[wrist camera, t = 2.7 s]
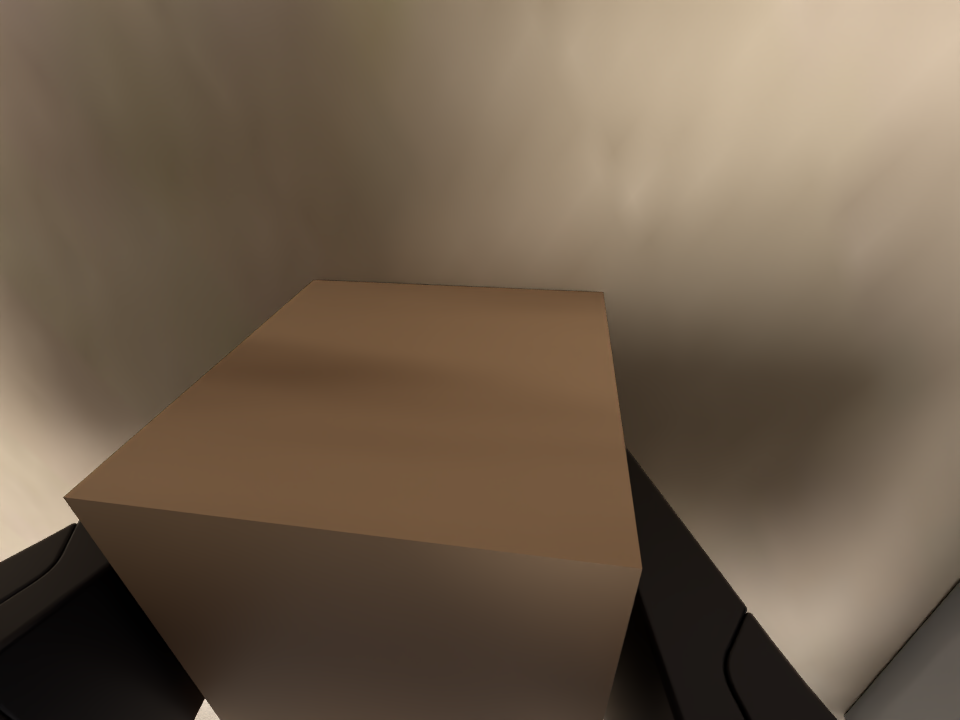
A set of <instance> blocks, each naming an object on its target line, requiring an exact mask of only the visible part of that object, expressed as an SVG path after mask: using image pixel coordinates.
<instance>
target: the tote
mask: <svg viewBox="0 0 960 720" xmlns="http://www.w3.org/2000/svg"><path fill="white" fill-rule="evenodd" d="M844 717H845V719H846V720H960V582H959V583H958V584H957V585H956V586H955V588H954V589H953V590H952V591H951V592H950V593H949V595H948V596H947V597H946V598H945V599H944V600H943V602H942V603H941V604H940V605H939V606H938V607H937V609H936V610H935V611H934V612H933V613H932V614H931V616H930V617H929V618H928V619H927V620H926V621H925V623H924V624H923V625H922V626H921V627H920V628H919V630H918V631H917V632H916V633H915V634H914V635H913V636H912V638H911V639H910V640H909V641H908V642H907V643H906V645H905V646H904V647H903V648H902V649H901V650H900V652H899V653H898V654H897V655H896V656H895V657H894V659H893V660H892V661H891V662H890V663H889V664H888V666H887V667H886V668H885V669H884V670H883V671H882V673H881V674H880V675H879V676H878V677H877V678H876V680H875V681H874V682H873V683H872V684H871V685H870V687H869V688H868V689H867V690H866V691H865V692H864V694H863V695H862V696H861V697H860V698H859V699H858V701H857V702H856V703H855V704H854V705H853V706H852V708H851V709H850V710H849V711H848V712H847V713H846V715H845V716H844Z"/></svg>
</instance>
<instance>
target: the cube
mask: <svg viewBox="0 0 960 720" xmlns="http://www.w3.org/2000/svg"><path fill="white" fill-rule="evenodd" d="M63 498H64V499H65V500H66V502H67V503H68V505H69V506H70V507H71V509H72V510H73V512H74V513H75V515H76V516H77V517H78V519H79V520H80V522H81V523H82V524H83V526H84V527H85V529H86V530H87V532H88V533H89V534H90V536H91V537H92V539H93V540H94V541H95V543H96V544H97V546H98V547H99V549H100V550H101V551H102V553H103V554H104V556H105V557H106V558H107V560H108V561H109V563H110V564H111V566H112V567H113V568H114V570H115V571H116V573H117V574H118V575H119V577H120V578H121V580H122V581H123V583H124V584H125V585H126V587H127V588H128V590H129V591H130V593H131V594H132V595H133V597H134V598H135V600H136V601H137V602H138V604H139V605H140V607H141V608H142V610H143V611H144V612H145V614H146V615H147V617H148V618H149V619H150V621H151V622H152V624H153V625H154V627H155V628H156V629H157V631H158V632H159V634H160V635H161V636H162V638H163V639H164V641H165V642H166V644H167V645H168V646H169V648H170V649H171V651H172V652H173V653H174V655H175V656H176V658H177V659H178V661H179V662H180V663H181V665H182V666H183V668H184V669H185V670H186V672H187V673H188V675H189V676H190V678H191V679H192V680H193V682H194V683H195V685H196V686H197V687H198V689H199V690H200V692H201V693H202V695H203V696H204V697H205V699H206V700H207V702H208V703H209V704H210V706H211V707H212V709H213V710H214V712H215V713H216V714H217V716H218V717H219V719H220V720H603V719H604V715H605V712H606V708H607V704H608V700H609V696H610V692H611V688H612V684H613V681H614V677H615V673H616V669H617V665H618V661H619V657H620V653H621V650H622V646H623V642H624V638H625V634H626V630H627V626H628V622H629V619H630V615H631V611H632V607H633V603H634V599H635V595H636V591H637V588H638V584H639V580H640V576H641V572H642V563H641V556H640V549H639V542H638V535H637V528H636V521H635V514H634V506H633V499H632V492H631V485H630V478H629V471H628V464H627V457H626V450H625V443H624V436H623V429H622V422H621V415H620V407H619V400H618V393H617V386H616V379H615V372H614V365H613V358H612V351H611V344H610V337H609V330H608V323H607V315H606V308H605V301H604V294H603V292H583V291H560V290H536V289H513V288H490V287H466V286H443V285H420V284H396V283H373V282H350V281H326V280H313V281H312V282H311V283H310V284H309V285H307V286H306V287H305V288H304V289H303V290H302V291H300V292H299V293H298V294H297V295H296V296H295V297H294V298H292V299H291V300H290V301H289V302H288V303H287V304H285V305H284V306H283V307H282V308H281V309H280V310H279V311H277V312H276V313H275V314H274V315H273V316H272V317H270V318H269V319H268V320H267V321H266V322H265V323H264V324H262V325H261V326H260V327H259V328H258V329H257V330H255V331H254V332H253V333H252V334H251V335H250V336H249V337H247V338H246V339H245V340H244V341H243V342H242V343H240V344H239V345H238V346H237V347H236V348H235V349H234V350H232V351H231V352H230V353H229V354H228V355H227V356H226V357H224V358H223V359H222V360H221V361H220V362H219V363H217V364H216V365H215V366H214V367H213V368H212V369H211V370H209V371H208V372H207V373H206V374H205V375H204V376H202V377H201V378H200V379H199V380H198V381H197V382H196V383H194V384H193V385H192V386H191V387H190V388H189V389H187V390H186V391H185V392H184V393H183V394H182V395H181V396H179V397H178V398H177V399H176V400H175V401H174V402H172V403H171V404H170V405H169V406H168V407H167V408H166V409H164V410H163V411H162V412H161V413H160V414H159V415H157V416H156V417H155V418H154V419H153V420H152V421H151V422H149V423H148V424H147V425H146V426H145V427H144V428H143V429H141V430H140V431H139V432H138V433H137V434H136V435H134V436H133V437H132V438H131V439H130V440H129V441H128V442H126V443H125V444H124V445H123V446H122V447H121V448H119V449H118V450H117V451H116V452H115V453H114V454H113V455H111V456H110V457H109V458H108V459H107V460H106V461H104V462H103V463H102V464H101V465H100V466H99V467H98V468H96V469H95V470H94V471H93V472H92V473H91V474H89V475H88V476H87V477H86V478H85V479H84V480H83V481H81V482H80V483H79V484H78V485H77V486H76V487H74V488H73V489H72V490H71V491H70V492H69V493H68V494H66V495H65V496H64V497H63Z"/></svg>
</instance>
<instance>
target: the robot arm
mask: <svg viewBox="0 0 960 720" xmlns="http://www.w3.org/2000/svg"><path fill="white" fill-rule="evenodd" d="M625 450H626V457H627V464H628V471H629V478H630V485H631V492H632V499H633V506H634V514H635V521H636V528H637V535H638V542H639V549H640V556H641V563H642V572H641V576H640V580H639V584H638V588H637V591H636V595H635V599H634V603H633V607H632V611H631V615H630V619H629V622H628V626H627V630H626V634H625V638H624V642H623V646H622V650H621V653H620V657H619V661H618V665H617V669H616V673H615V677H614V681H613V684H612V688H611V692H610V696H609V700H608V704H607V708H606V712H605V715H604V720H837V719H836V718H835V717H834V715H833V714H832V713H831V712H830V711H829V710H828V708H827V707H826V706H825V705H824V704H823V703H822V701H821V700H820V699H819V698H818V697H817V696H816V694H815V693H814V692H813V691H812V690H811V689H810V687H809V686H808V685H807V684H806V683H805V681H804V680H803V679H802V678H801V676H800V675H799V674H798V673H797V671H796V670H795V669H794V668H793V666H792V665H791V664H790V662H789V661H788V660H787V659H786V657H785V656H784V655H783V654H782V652H781V651H780V650H779V649H778V647H777V646H776V645H775V643H774V642H773V641H772V640H771V638H770V637H769V636H768V634H767V633H766V632H765V630H764V629H763V628H762V626H761V625H760V624H759V622H758V621H757V620H756V618H755V617H754V616H753V614H751V613H749V612H748V613H746V612H747V607H746V606H745V604H744V603H743V602H742V600H741V599H740V598H739V596H738V595H737V594H736V592H735V591H734V590H733V588H732V587H731V586H730V584H729V583H728V582H727V580H726V579H725V578H724V576H723V575H722V574H721V572H720V571H719V570H718V568H717V567H716V566H715V564H714V563H713V562H712V560H711V559H710V558H709V556H708V555H707V554H706V552H705V551H704V550H703V549H702V547H701V546H700V545H699V543H698V542H697V541H696V539H695V538H694V537H693V535H692V534H691V533H690V531H689V530H688V529H687V527H686V526H685V525H684V523H683V522H682V521H681V519H680V518H679V517H678V515H677V514H676V513H675V511H674V510H673V509H672V507H671V506H670V505H669V503H668V502H667V501H666V499H665V498H664V497H663V495H662V494H661V493H660V492H659V490H658V489H657V488H656V486H655V485H654V484H653V482H652V481H651V480H650V478H649V477H648V476H647V474H646V473H645V472H644V470H643V469H642V468H641V466H640V465H639V464H638V462H637V461H636V460H635V458H634V457H633V456H632V454H631V453H630V452H629V450H628V449H627V448H626V446H625ZM204 699H205V697H204V696H203V695H202V693H201V692H200V690H199V689H198V687H197V686H196V685H195V683H194V682H193V680H192V679H191V678H190V676H189V675H188V673H187V672H186V670H185V669H184V668H183V666H182V665H181V663H180V662H179V661H178V659H177V658H176V656H175V655H174V653H173V652H172V651H171V649H170V648H169V646H168V645H167V644H166V642H165V641H164V639H163V638H162V636H161V635H160V634H159V632H158V631H157V629H156V628H155V627H154V625H153V624H152V622H151V621H150V619H149V618H148V617H147V615H146V614H145V612H144V611H143V610H142V608H141V607H140V605H139V604H138V602H137V601H136V600H135V598H134V597H133V595H132V594H131V593H130V591H129V590H128V588H127V587H126V585H125V584H124V583H123V581H122V580H121V578H120V577H119V575H118V574H117V573H116V571H115V570H114V568H113V567H112V566H111V564H110V563H109V561H108V560H107V558H106V557H105V556H104V554H103V553H102V551H101V550H100V549H99V547H98V546H97V544H96V543H95V541H94V540H93V539H92V537H91V536H90V534H89V533H88V532H87V530H86V529H85V527H84V526H83V524H82V523H81V522H80V520H79V521H78V523H77V524H76V523H73V524H71V525H69V526H67V527H65V528H64V529H62V530H60V531H58V532H56V533H55V534H53V535H51V536H49V537H47V538H45V539H43V540H42V541H40V542H38V543H36V544H34V545H32V546H30V547H28V548H26V549H24V550H23V551H21V552H19V553H17V554H15V555H13V556H11V557H9V558H7V559H5V560H4V561H2V562H0V720H194V719H195V717H196V715H197V713H198V711H199V709H200V707H201V705H202V703H203V701H204Z"/></svg>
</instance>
